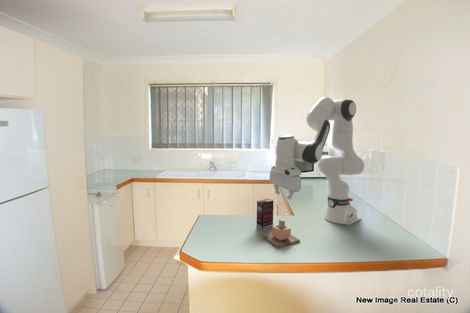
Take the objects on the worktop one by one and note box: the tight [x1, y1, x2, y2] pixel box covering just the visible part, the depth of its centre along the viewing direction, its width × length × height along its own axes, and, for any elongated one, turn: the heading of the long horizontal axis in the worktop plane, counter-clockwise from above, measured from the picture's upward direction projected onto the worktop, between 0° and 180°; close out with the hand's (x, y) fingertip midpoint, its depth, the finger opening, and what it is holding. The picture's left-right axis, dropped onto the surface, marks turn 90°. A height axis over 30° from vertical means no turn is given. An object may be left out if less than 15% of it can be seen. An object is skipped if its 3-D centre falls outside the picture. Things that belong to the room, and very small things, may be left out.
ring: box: [271, 223, 292, 240], centre depth 135 cm, size 7×7×5 cm
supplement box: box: [256, 198, 274, 232], centre depth 149 cm, size 9×5×16 cm, turn 126°
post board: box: [262, 219, 301, 249], centre depth 135 cm, size 14×12×10 cm
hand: (283, 196), depth 133 cm, fingers open, 8 cm apart
